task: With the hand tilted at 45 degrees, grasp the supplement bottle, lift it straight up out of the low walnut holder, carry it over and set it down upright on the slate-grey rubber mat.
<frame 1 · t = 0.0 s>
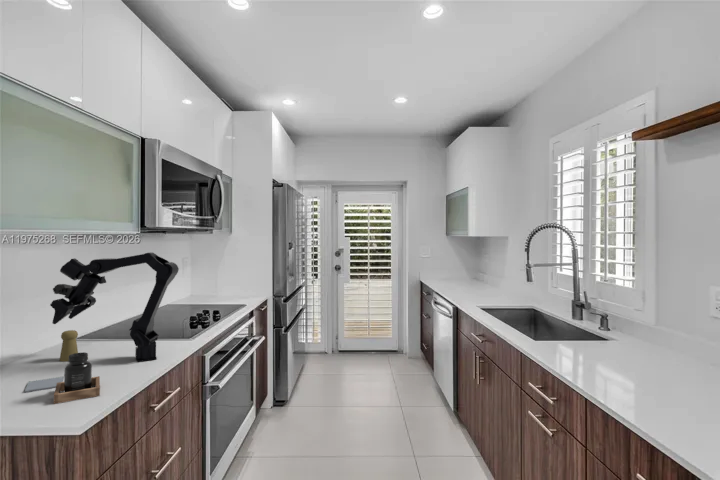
hand: (61, 320, 149), 15 cm above the countertop, tool tilted 35°, fingers open, 9 cm apart
walnut holder: (78, 393, 119), on the countertop
supplement bottle: (78, 393, 119), resting in walnut holder
slate mat: (45, 384, 125), on the countertop
cork: (69, 359, 150), on the countertop
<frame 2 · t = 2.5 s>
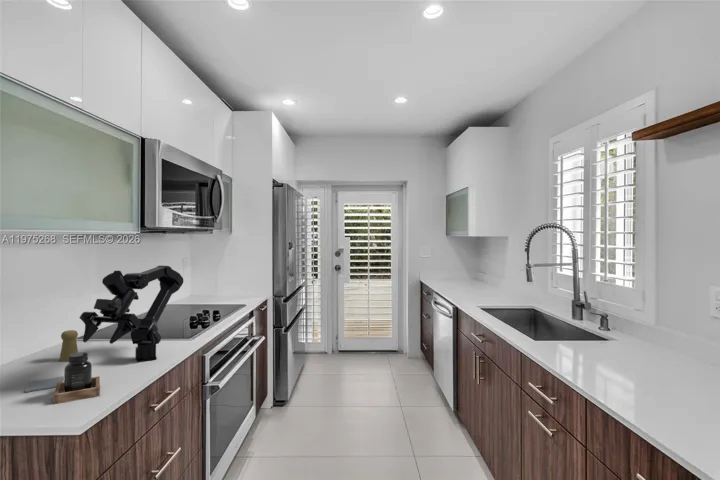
hand: (97, 342, 127), 14 cm above the countertop, tool tilted 45°, fingers open, 9 cm apart
nothing on the countertop moved.
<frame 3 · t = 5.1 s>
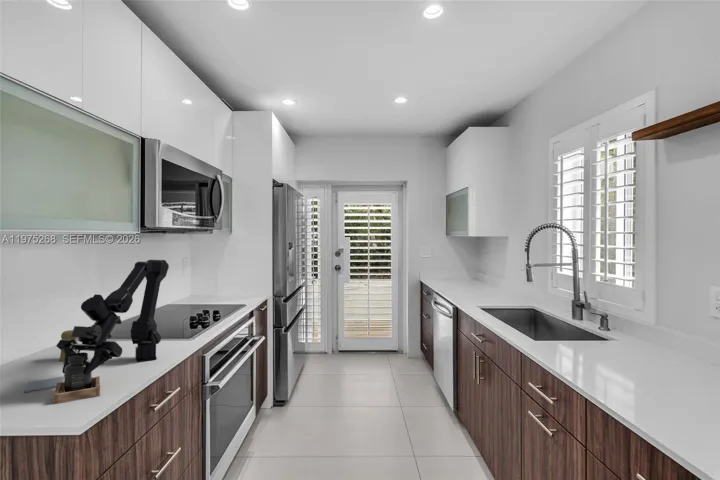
hand: (74, 373, 118), 7 cm above the countertop, tool tilted 45°, fingers closed on supplement bottle, 7 cm apart
supplement bottle: (78, 393, 119), resting in walnut holder, touching gripper
everything else where it was.
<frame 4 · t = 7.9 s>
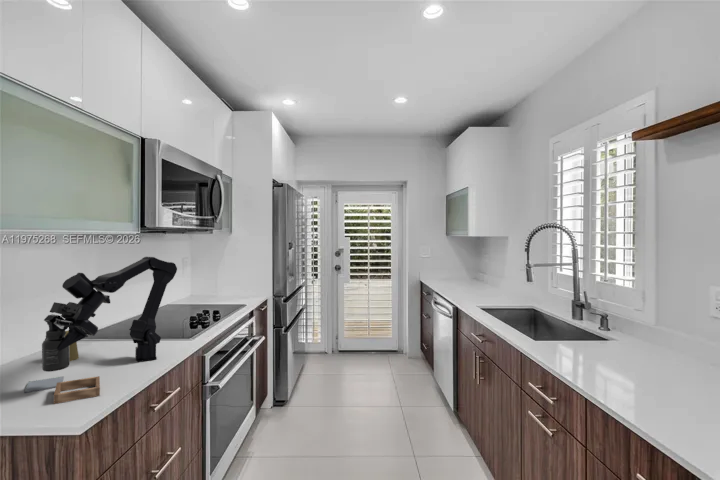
hand: (50, 348, 120), 13 cm above the countertop, tool tilted 45°, fingers closed on supplement bottle, 7 cm apart
supplement bottle: (56, 368, 122), point 6 cm above the countertop, touching gripper
everything else where it was.
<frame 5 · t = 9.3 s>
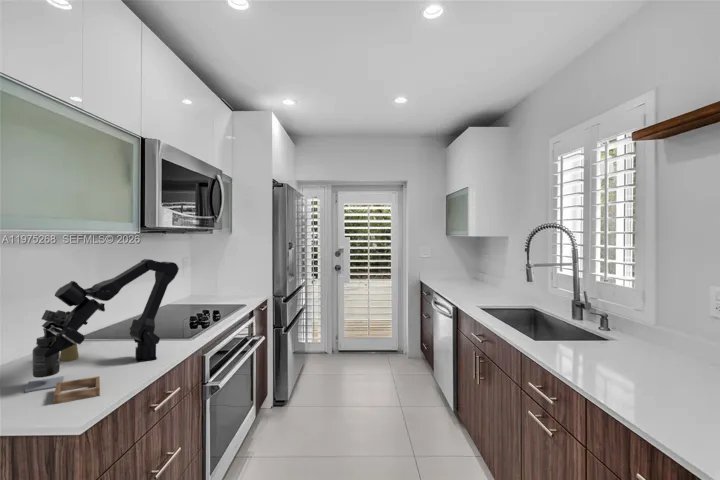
hand: (41, 354, 124), 10 cm above the countertop, tool tilted 45°, fingers closed on supplement bottle, 7 cm apart
supplement bottle: (46, 374, 125), point 3 cm above the countertop, touching gripper
everything else where it was.
when the fingers open (8 cm above the countertop, at t = 10.2 s): supplement bottle drops 1 cm, resting on slate mat.
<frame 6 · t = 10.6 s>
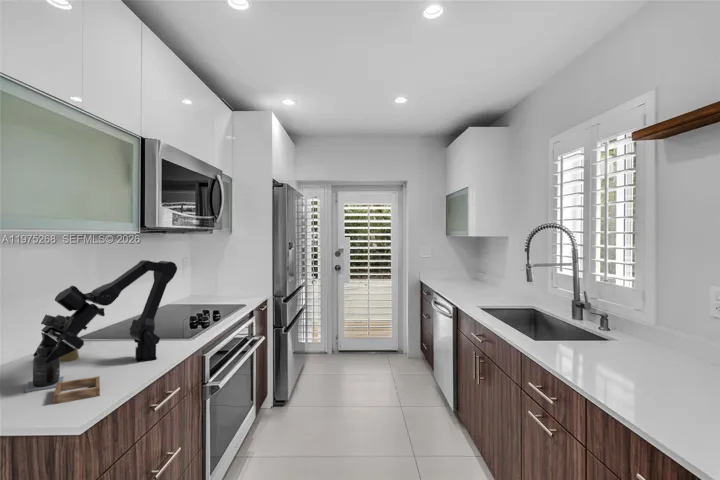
hand: (40, 359, 124), 9 cm above the countertop, tool tilted 45°, fingers open, 9 cm apart
supplement bottle: (46, 383, 125), resting on slate mat
everything else where it was.
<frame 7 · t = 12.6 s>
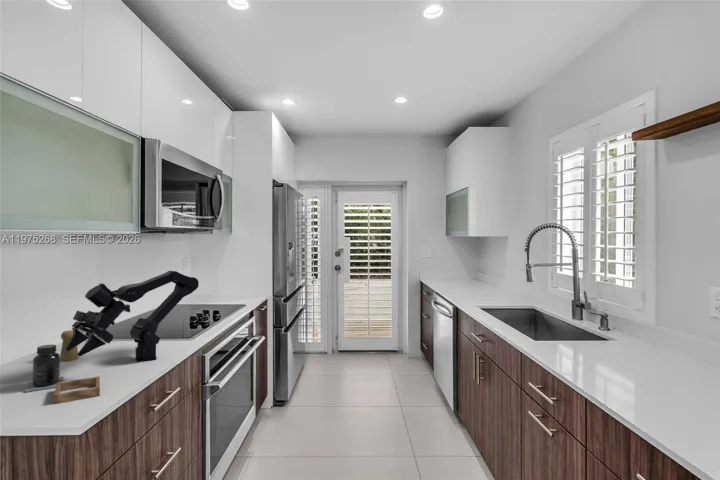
hand: (72, 353, 131), 8 cm above the countertop, tool tilted 45°, fingers open, 9 cm apart
nothing on the countertop moved.
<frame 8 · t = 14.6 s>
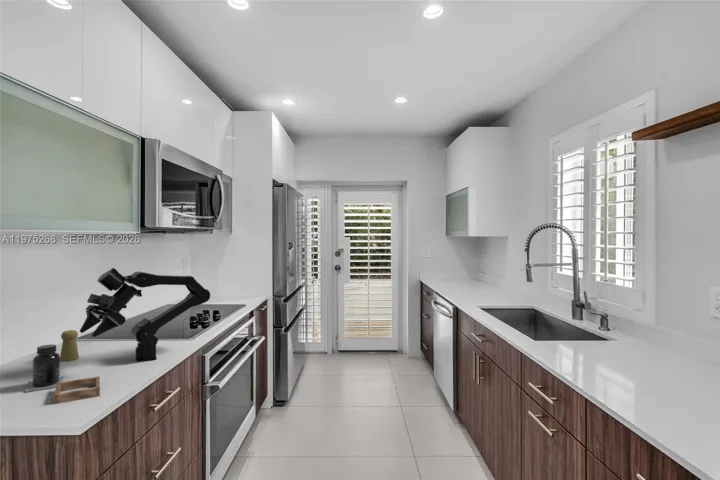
hand: (86, 334, 136), 14 cm above the countertop, tool tilted 45°, fingers open, 9 cm apart
nothing on the countertop moved.
at the end: supplement bottle inside the target area (0.4 cm from its centre), resting on slate mat; supplement bottle tilted 0°; the gripper is holding nothing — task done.
